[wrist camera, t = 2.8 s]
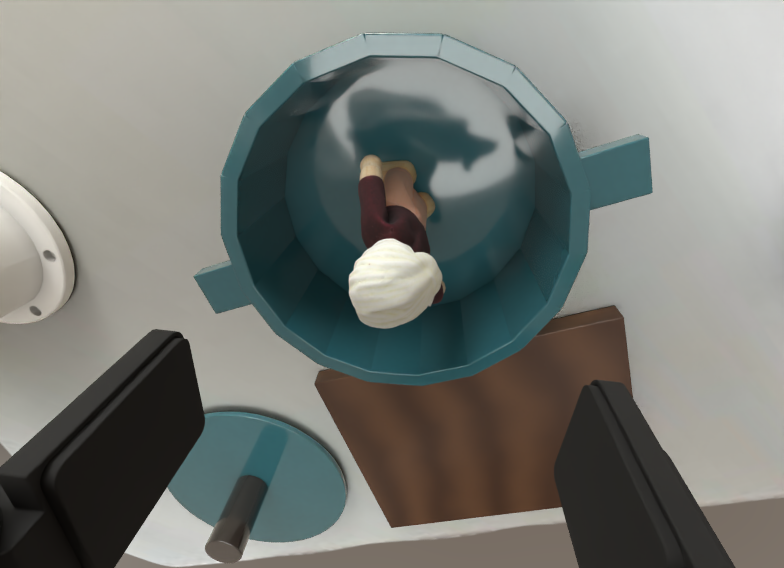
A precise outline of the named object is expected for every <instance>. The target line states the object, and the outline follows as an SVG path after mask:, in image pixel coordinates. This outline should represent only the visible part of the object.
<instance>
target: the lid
mask: <svg viewBox="0 0 784 568" xmlns="http://www.w3.org/2000/svg"><path fill="white" fill-rule="evenodd" d="M204 416H205V426H204V430H203V432H202V434H201V436H200V437H199V439H198V440H197V442H196V443H195V445H194V447H193V448H192V450H191V451H190V453H189V454H188V456H187V457H186V459H185V460H184V462H183V463H182V465H181V466H180V468H179V469H178V471H177V473H176V474H175V476H174V477H173V479H172V480H171V482H170V483H169V485H168V486H167V487H168V489H169V491H170V492H171V493H172V495H173V496H174V497H175V498H176V500H177V501H178V502H179V503H180V504H181V505H182V506H183V507H185V508H186V509H187V510H188V511H189V512H190V513H192V514H193V515H195V516H196V517H197V518H199V519H201V520H202V521H204V522H206V523H207V524H209V525H211V526H213V527H214V529H213V531H212V533H211V535H210V537H209V539H208V541H207V543H206V545H205V551H206V553H207V554H208V555H209V556H210V557H211V558H213V559H215V560H217V561H220V562H223V563H235V562H237V561H239V560H240V559H241V557H242V555H243V552H244V549H245V547H246V544H247V542H248V539H251V540H257V541H264V542H293V541H299V540H304V539H308V538H311V537H314V536H316V535H319V534H321V533H322V532H324V531H326V530H327V529H329V528H330V527H331V526H332V525H334V523H335V522H336V521H337V520H338V519H339V517H340V516H341V514H342V512H343V510H344V507H345V503H346V496H347V489H346V482H345V479H344V475H343V473H342V471H341V469H340V467H339V465H338V464H337V462H336V461H335V459H334V458H333V457H332V456H331V455H330V454H329V452H328V451H327V450H326V449H325V448H324V447H323V446H321V445H320V444H319V443H318V442H317V441H315V440H314V439H313V438H311V437H310V436H309V435H307V434H305V433H304V432H302V431H300V430H299V429H297V428H295V427H293V426H291V425H288V424H286V423H284V422H281V421H279V420H276V419H273V418H270V417H266V416H262V415H258V414H252V413H246V412H234V411H226V412H214V413H207V414H204Z"/></svg>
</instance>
